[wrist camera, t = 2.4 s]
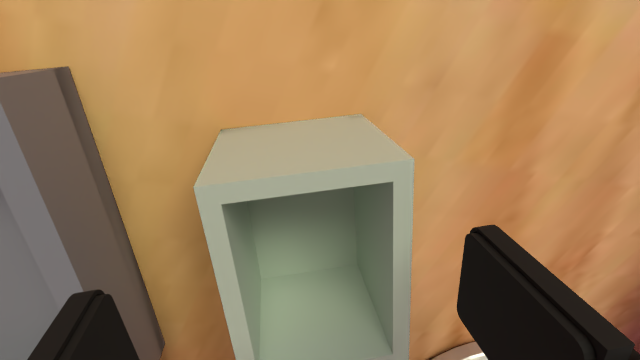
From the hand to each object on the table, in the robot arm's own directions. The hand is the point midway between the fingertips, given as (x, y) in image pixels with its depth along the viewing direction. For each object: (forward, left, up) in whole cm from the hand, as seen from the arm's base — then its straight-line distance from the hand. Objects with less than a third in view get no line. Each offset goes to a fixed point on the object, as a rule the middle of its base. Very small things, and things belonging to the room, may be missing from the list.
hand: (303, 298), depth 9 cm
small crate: (-1, +1, -7) cm, 7 cm away
